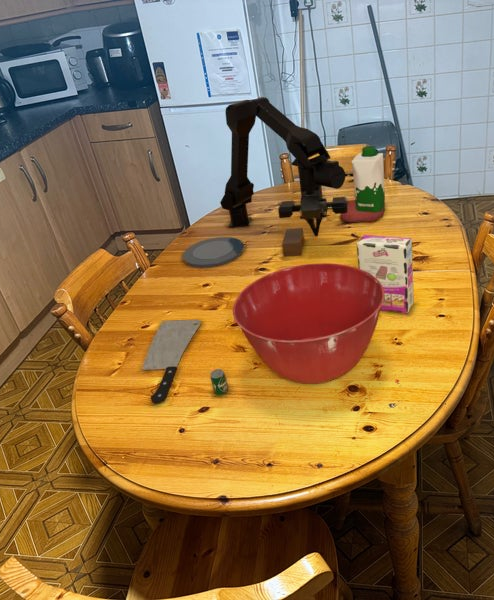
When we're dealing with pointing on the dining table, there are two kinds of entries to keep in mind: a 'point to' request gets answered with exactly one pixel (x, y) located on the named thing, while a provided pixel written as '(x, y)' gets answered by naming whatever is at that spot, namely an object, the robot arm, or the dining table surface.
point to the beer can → (219, 382)
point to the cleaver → (169, 351)
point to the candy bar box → (389, 268)
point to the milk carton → (369, 180)
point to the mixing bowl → (310, 319)
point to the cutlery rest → (293, 242)
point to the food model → (359, 214)
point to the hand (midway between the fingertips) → (316, 235)
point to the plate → (213, 252)
